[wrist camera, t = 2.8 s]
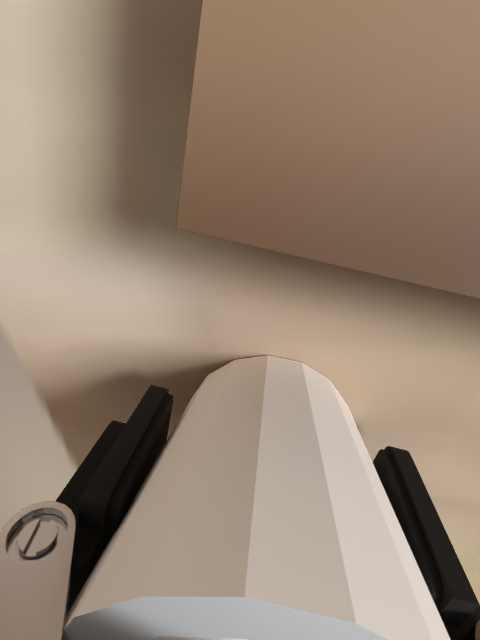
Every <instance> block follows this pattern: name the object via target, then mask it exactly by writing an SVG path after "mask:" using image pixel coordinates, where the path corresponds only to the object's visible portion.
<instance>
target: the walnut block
mask: <svg viewBox="0 0 480 640" xmlns="http://www.w3.org/2000/svg"><path fill="white" fill-rule="evenodd" d="M176 228H177V229H181V230H185V231H190V232H194V233H198V234H203V235H207V236H211V237H216V238H220V239H224V240H229V241H233V242H237V243H242V244H246V245H250V246H255V247H259V248H263V249H268V250H272V251H276V252H280V253H285V254H289V255H293V256H298V257H302V258H306V259H311V260H315V261H319V262H324V263H328V264H332V265H337V266H341V267H345V268H350V269H354V270H358V271H363V272H367V273H371V274H376V275H380V276H384V277H388V278H393V279H397V280H401V281H406V282H410V283H414V284H419V285H423V286H427V287H432V288H436V289H440V290H445V291H449V292H453V293H458V294H462V295H466V296H471V297H475V298H479V299H480V0H203V1H202V10H201V18H200V27H199V35H198V44H197V52H196V61H195V69H194V78H193V87H192V95H191V104H190V112H189V121H188V129H187V138H186V146H185V155H184V163H183V172H182V180H181V189H180V197H179V206H178V214H177V223H176Z"/></svg>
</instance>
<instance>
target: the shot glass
mask: <svg viewBox="0 0 480 640" xmlns="http://www.w3.org/2000/svg"><path fill="white" fill-rule="evenodd" d="M63 640H451V639H450V637H449V635H448V633H447V630H446V628H445V626H444V624H443V621H442V619H441V617H440V614H439V612H438V610H437V608H436V605H435V603H434V601H433V599H432V596H431V594H430V592H429V590H428V587H427V585H426V583H425V580H424V578H423V576H422V574H421V571H420V569H419V567H418V565H417V562H416V560H415V558H414V555H413V553H412V551H411V549H410V546H409V544H408V542H407V540H406V537H405V535H404V533H403V531H402V528H401V526H400V524H399V521H398V519H397V517H396V515H395V512H394V510H393V508H392V506H391V503H390V501H389V499H388V497H387V494H386V492H385V490H384V487H383V485H382V483H381V481H380V478H379V476H378V474H377V472H376V469H375V467H374V465H373V462H372V460H371V458H370V456H369V453H368V451H367V449H366V447H365V444H364V442H363V440H362V438H361V435H360V433H359V431H358V428H357V426H356V424H355V422H354V419H353V417H352V415H351V413H350V410H349V408H348V406H347V404H346V402H345V401H344V399H343V398H342V396H341V395H340V394H339V392H338V391H337V389H336V388H335V386H334V385H333V383H332V382H331V381H330V379H328V378H326V377H325V376H323V375H322V374H320V373H318V372H317V371H315V370H314V369H312V368H310V367H309V366H307V365H306V364H304V363H302V362H299V361H294V360H289V359H284V358H279V357H274V356H269V355H265V356H258V357H251V358H244V359H237V360H233V361H231V362H230V363H228V364H226V365H224V366H223V367H221V368H219V369H217V370H216V371H214V372H212V373H210V374H208V376H207V377H206V378H205V380H204V381H203V383H202V384H201V385H200V387H199V388H198V390H197V391H196V392H195V394H194V395H193V397H192V398H191V400H190V402H189V404H188V405H187V407H186V409H185V411H184V412H183V414H182V416H181V418H180V419H179V421H178V423H177V425H176V426H175V428H174V430H173V432H172V433H171V435H170V437H169V438H168V440H167V442H166V444H165V445H164V447H163V449H162V451H161V452H160V454H159V456H158V458H157V459H156V461H155V463H154V465H153V466H152V468H151V470H150V471H149V473H148V475H147V477H146V478H145V480H144V482H143V484H142V485H141V487H140V489H139V491H138V492H137V494H136V496H135V498H134V499H133V501H132V503H131V505H130V506H129V508H128V510H127V511H126V513H125V515H124V517H123V519H122V521H121V522H120V524H119V526H118V528H117V530H116V532H115V533H114V535H113V536H112V538H111V539H110V541H109V543H108V545H107V546H106V548H105V550H104V551H103V553H102V555H101V557H100V558H99V560H98V562H97V564H96V565H95V567H94V569H93V571H92V572H91V574H90V576H89V578H88V579H87V581H86V583H85V585H84V586H83V588H82V590H81V591H80V593H79V595H78V597H77V598H76V600H75V602H74V604H73V605H72V607H71V609H70V611H69V612H68V614H67V616H66V622H65V625H64V629H63Z"/></svg>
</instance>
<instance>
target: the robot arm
mask: <svg viewBox="0 0 480 640" xmlns="http://www.w3.org/2000/svg"><path fill="white" fill-rule="evenodd" d="M168 393H169V390H168V389H165V388H161V387H157V386H153V385H151V386H150V387H149V389H148V390H147V392H146V393H145V395H144V396H143V398H142V400H141V401H140V403H139V404H138V406H137V408H136V409H135V411H134V412H133V414H132V415H131V417H130V419H129V420H128V422H127V423H122V422H118V421H112V422H111V423H110V424H109V425H108V427H107V428H106V430H105V431H104V432H103V434H102V435H101V437H100V438H99V440H98V441H97V442H96V444H95V445H94V447H93V448H92V450H91V451H90V453H89V454H88V455H87V457H86V458H85V460H84V461H83V463H82V464H81V465H80V467H79V468H78V470H77V471H76V473H75V474H74V475H73V477H72V478H71V480H70V481H69V483H68V484H67V485H66V487H65V488H64V490H63V491H62V493H61V494H60V496H59V497H58V498H57V500H56V501H53V502H52V501H51V502H49V501H48V502H47V501H45V502H41V503H36V504H33V505H31V506H29V507H27V508H25V509H23V510H21V511H20V512H18V513H17V514H16V515H15V516H13V517H12V518H11V519H10V520H9V521H8V522H7V524H6V525H5V526H4V527H3V528H2V531H1V532H0V640H63V629H64V625H65V622H66V616H67V614H68V612H69V611H70V609H71V607H72V605H73V604H74V602H75V600H76V598H77V597H78V595H79V593H80V591H81V590H82V588H83V586H84V585H85V583H86V581H87V579H88V578H89V576H90V574H91V572H92V571H93V569H94V567H95V565H96V564H97V562H98V560H99V558H100V557H101V555H102V553H103V551H104V550H105V548H106V546H107V545H108V543H109V541H110V539H111V538H112V536H113V535H114V533H115V532H116V530H117V528H118V526H119V524H120V522H121V521H122V519H123V517H124V515H125V513H126V511H127V510H128V508H129V506H130V505H131V503H132V501H133V499H134V498H135V496H136V494H137V492H138V491H139V489H140V487H141V485H142V484H143V482H144V480H145V478H146V477H147V475H148V473H149V471H150V470H151V468H152V466H153V465H154V463H155V461H156V459H157V458H158V456H159V454H160V452H161V451H162V449H163V447H164V445H165V444H166V440H167V434H168V428H169V422H170V416H171V410H172V404H173V395H170V394H168ZM373 465H374V467H375V469H376V472H377V474H378V476H379V478H380V481H381V483H382V485H383V487H384V490H385V492H386V494H387V497H388V499H389V501H390V503H391V506H392V508H393V510H394V512H395V515H396V517H397V519H398V521H399V524H400V526H401V528H402V531H403V533H404V535H405V537H406V540H407V542H408V544H409V546H410V549H411V551H412V553H413V555H414V558H415V560H416V562H417V565H418V567H419V569H420V571H421V574H422V576H423V578H424V580H425V583H426V585H427V587H428V590H429V592H430V594H431V596H432V599H433V601H434V603H435V605H436V608H437V610H438V612H439V614H440V617H441V619H442V621H443V624H444V626H445V628H446V630H447V633H448V635H449V637H450V639H451V640H480V605H479V603H478V600H477V598H476V596H475V594H474V592H473V590H472V587H471V585H470V583H469V581H468V579H467V576H466V574H465V572H464V570H463V568H462V566H461V563H460V561H459V559H458V557H457V555H456V553H455V550H454V548H453V546H452V544H451V542H450V540H449V537H448V535H447V533H446V531H445V529H444V526H443V524H442V522H441V520H440V518H439V516H438V513H437V511H436V509H435V507H434V505H433V503H432V500H431V498H430V496H429V494H428V492H427V490H426V487H425V485H424V483H423V481H422V479H421V476H420V474H419V472H418V470H417V468H416V466H415V463H414V461H413V459H412V457H411V455H410V453H409V452H408V451H406V450H402V449H398V448H394V447H390V446H388V447H386V448H385V449H384V450H383V449H381V450H380V451H379V452H378V454H377V456H376V457H375V459H374V461H373Z"/></svg>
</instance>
